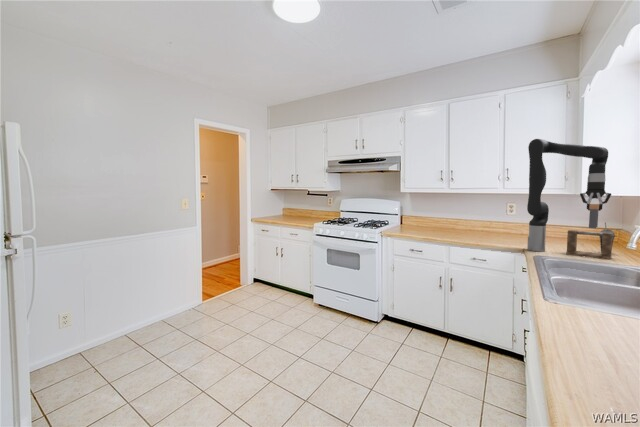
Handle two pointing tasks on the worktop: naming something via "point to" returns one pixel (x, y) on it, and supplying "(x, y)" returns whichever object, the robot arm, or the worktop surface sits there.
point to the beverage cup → (607, 232)
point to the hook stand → (604, 255)
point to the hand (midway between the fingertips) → (594, 210)
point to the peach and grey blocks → (593, 215)
